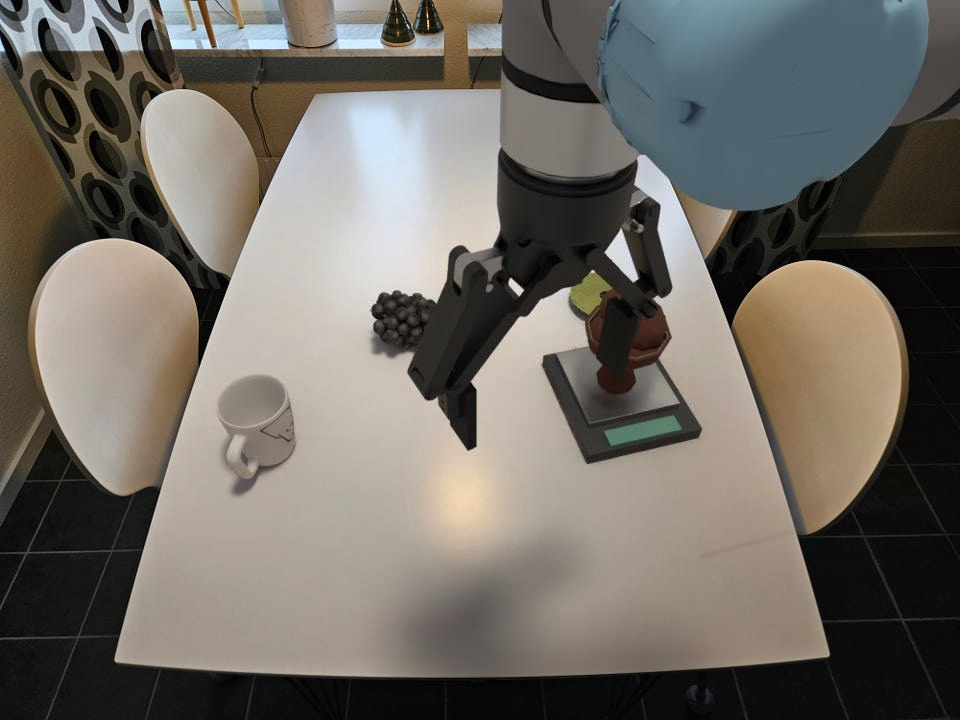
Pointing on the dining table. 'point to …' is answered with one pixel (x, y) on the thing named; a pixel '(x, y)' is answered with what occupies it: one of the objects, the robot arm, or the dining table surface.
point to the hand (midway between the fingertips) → (539, 400)
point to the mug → (256, 422)
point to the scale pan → (609, 405)
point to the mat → (589, 292)
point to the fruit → (401, 317)
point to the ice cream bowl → (643, 348)
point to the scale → (623, 422)
